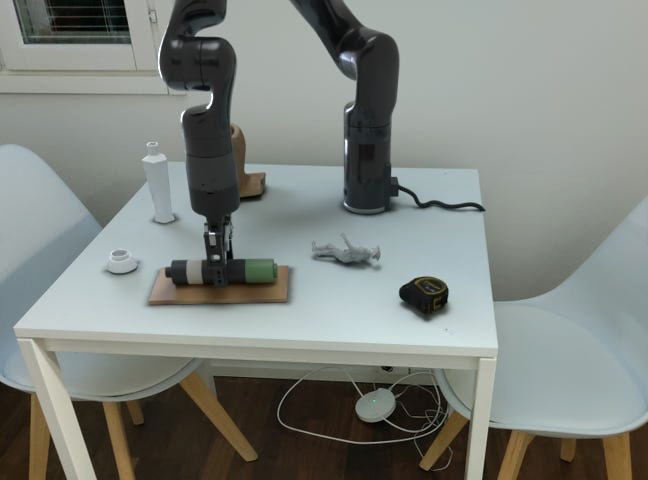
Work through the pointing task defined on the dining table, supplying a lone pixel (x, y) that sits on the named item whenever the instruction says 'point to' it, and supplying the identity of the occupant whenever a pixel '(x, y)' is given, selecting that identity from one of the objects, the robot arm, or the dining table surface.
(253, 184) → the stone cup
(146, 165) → the perfume bottle
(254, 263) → the marker
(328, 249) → the soldier figure
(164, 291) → the wooden board
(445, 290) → the tape measure
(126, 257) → the white jar
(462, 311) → the dining table surface
